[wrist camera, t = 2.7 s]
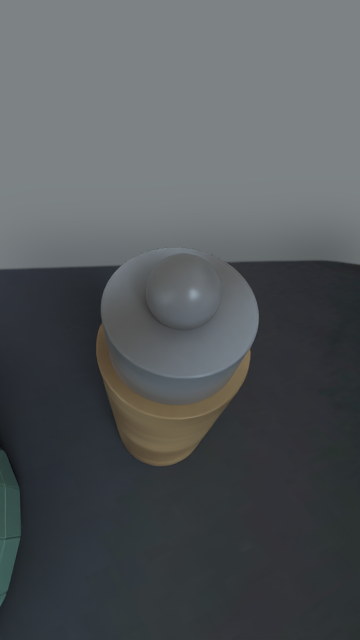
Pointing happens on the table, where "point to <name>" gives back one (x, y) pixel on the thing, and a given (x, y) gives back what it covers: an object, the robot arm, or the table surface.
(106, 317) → the pepper mill
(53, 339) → the table surface
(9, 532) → the green shallow bowl
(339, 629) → the table surface
